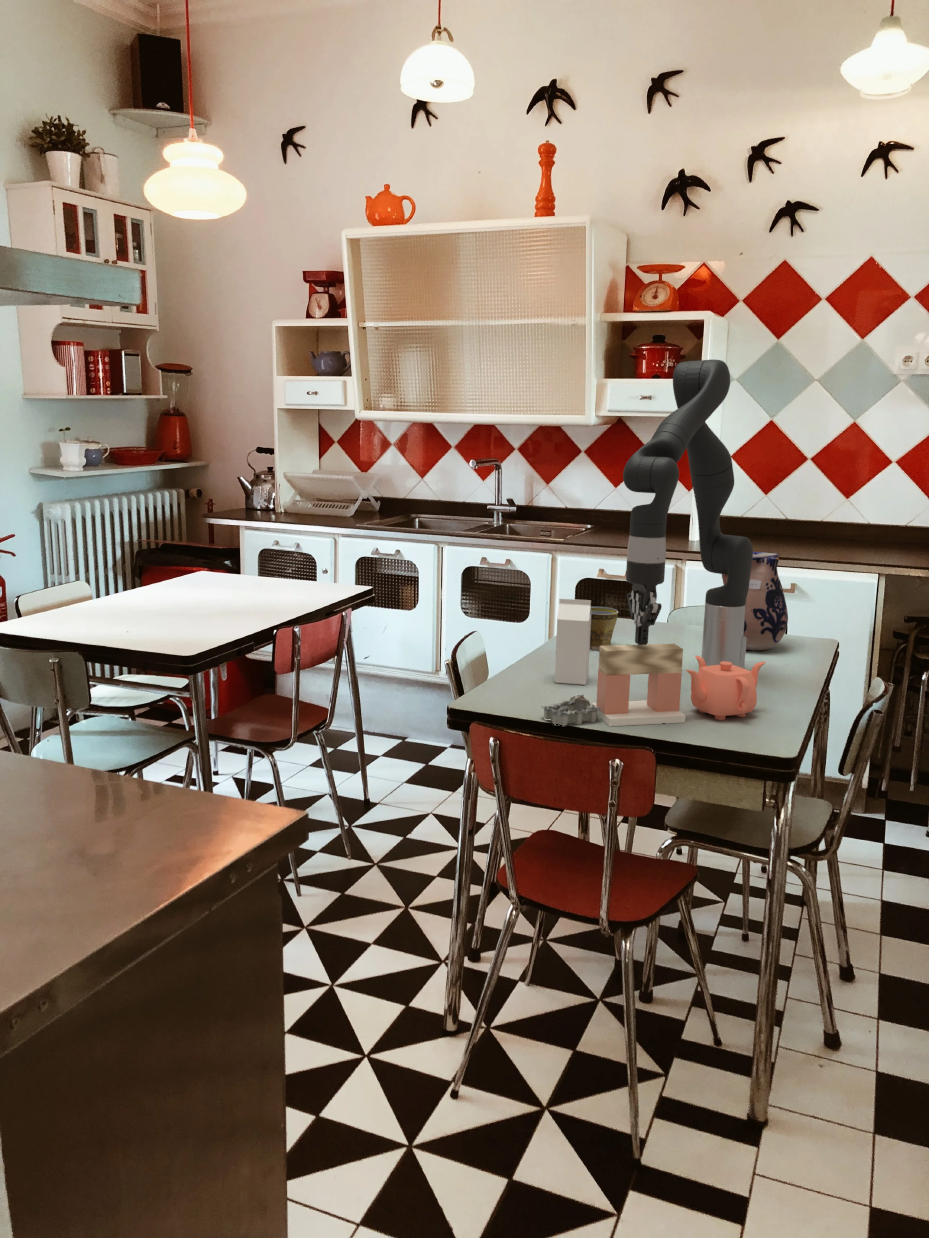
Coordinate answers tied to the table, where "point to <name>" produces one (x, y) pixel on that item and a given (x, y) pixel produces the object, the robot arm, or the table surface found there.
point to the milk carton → (573, 641)
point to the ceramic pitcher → (764, 604)
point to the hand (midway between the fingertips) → (641, 643)
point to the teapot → (724, 689)
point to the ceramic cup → (602, 626)
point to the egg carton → (571, 711)
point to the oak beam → (640, 659)
